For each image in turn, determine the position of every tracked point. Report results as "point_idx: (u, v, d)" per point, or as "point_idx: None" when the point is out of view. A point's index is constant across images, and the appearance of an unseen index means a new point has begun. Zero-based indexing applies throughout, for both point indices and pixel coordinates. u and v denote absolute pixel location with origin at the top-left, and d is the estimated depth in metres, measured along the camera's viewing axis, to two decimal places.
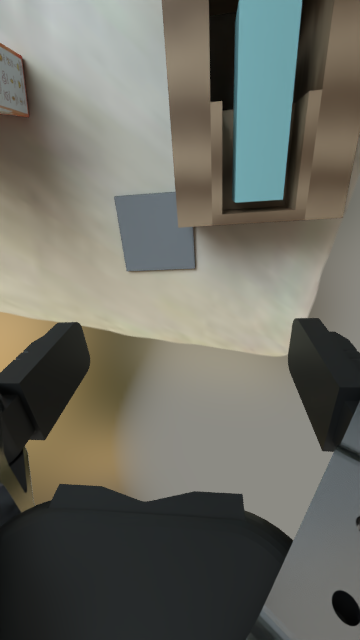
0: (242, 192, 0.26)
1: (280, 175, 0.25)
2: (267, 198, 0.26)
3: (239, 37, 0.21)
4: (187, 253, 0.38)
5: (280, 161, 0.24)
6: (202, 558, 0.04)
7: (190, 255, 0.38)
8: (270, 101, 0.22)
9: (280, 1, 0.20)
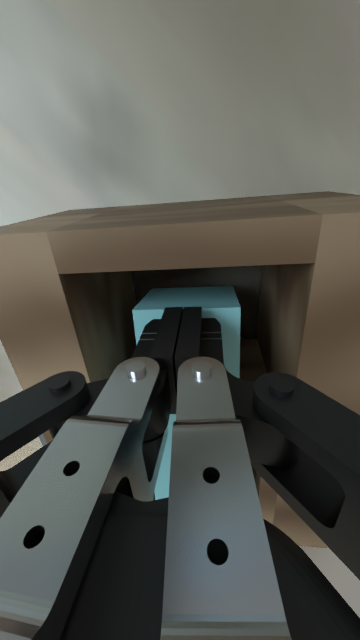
0: None
1: None
2: None
3: None
4: None
5: None
6: None
7: None
8: None
9: None
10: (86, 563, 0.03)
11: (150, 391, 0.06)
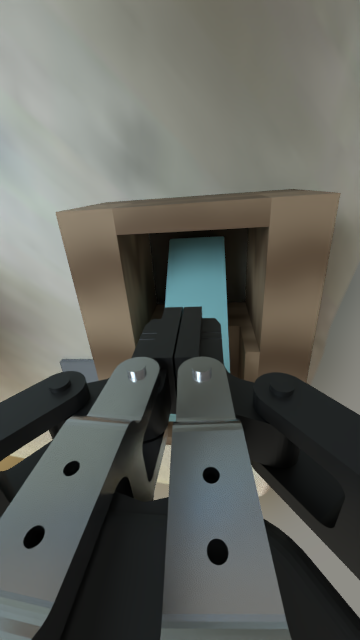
0: None
1: None
2: None
3: (169, 260, 0.22)
4: None
5: None
6: None
7: None
8: (202, 304, 0.19)
9: (205, 243, 0.22)
10: (86, 562, 0.03)
11: (150, 391, 0.06)
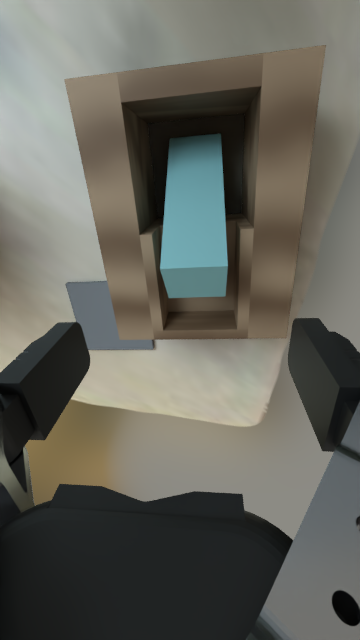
0: (170, 258, 0.18)
1: (220, 241, 0.18)
2: (205, 264, 0.18)
3: (169, 155, 0.23)
4: None
5: (218, 229, 0.19)
6: (202, 558, 0.04)
7: None
8: (200, 186, 0.21)
9: (203, 139, 0.23)
10: None
11: None
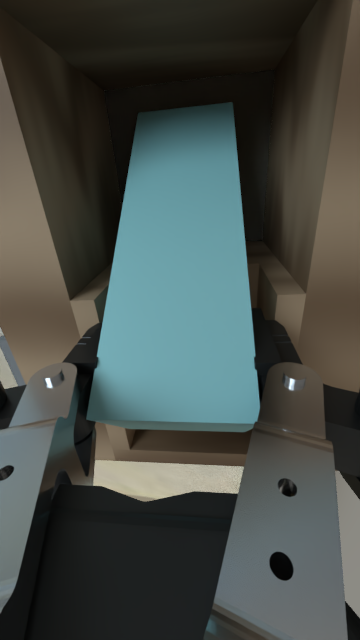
0: (114, 387, 0.07)
1: (238, 344, 0.07)
2: (202, 414, 0.07)
3: (135, 142, 0.12)
4: None
5: (232, 308, 0.08)
6: (202, 558, 0.04)
7: None
8: (193, 203, 0.10)
9: (199, 113, 0.12)
10: (41, 544, 0.04)
11: (57, 397, 0.06)
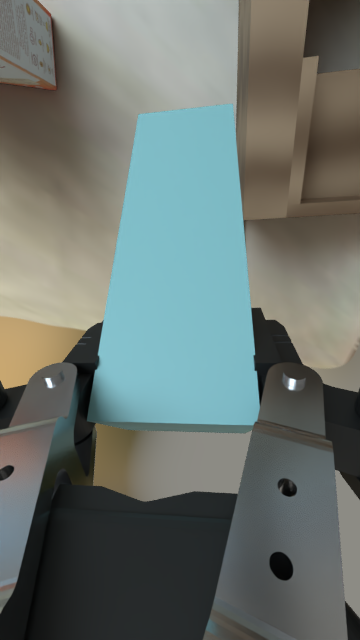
0: (114, 389, 0.07)
1: (238, 346, 0.08)
2: (202, 416, 0.07)
3: (135, 144, 0.12)
4: None
5: (232, 310, 0.08)
6: (202, 558, 0.04)
7: None
8: (193, 205, 0.10)
9: (199, 115, 0.12)
10: (41, 544, 0.04)
11: (57, 397, 0.06)
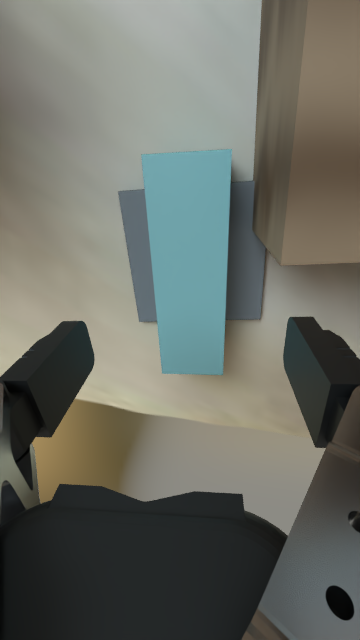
0: (170, 364, 0.20)
1: (217, 351, 0.19)
2: (203, 372, 0.20)
3: (147, 202, 0.15)
4: (249, 295, 0.21)
5: (216, 337, 0.18)
6: (202, 558, 0.04)
7: (254, 298, 0.21)
8: (197, 275, 0.16)
9: (200, 165, 0.14)
10: None
11: None
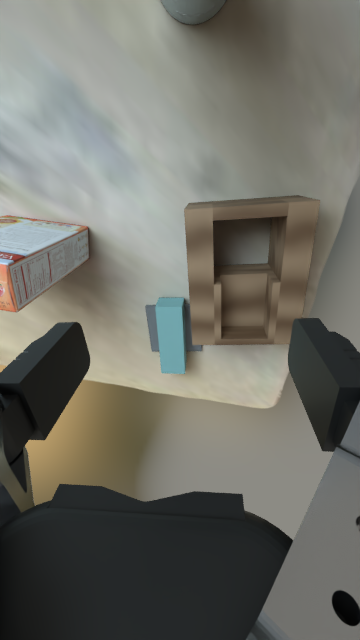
0: (164, 369, 0.51)
1: (182, 365, 0.50)
2: (177, 372, 0.51)
3: (156, 318, 0.46)
4: None
5: (181, 360, 0.50)
6: (202, 558, 0.04)
7: None
8: (173, 339, 0.48)
9: (172, 310, 0.45)
10: None
11: None
